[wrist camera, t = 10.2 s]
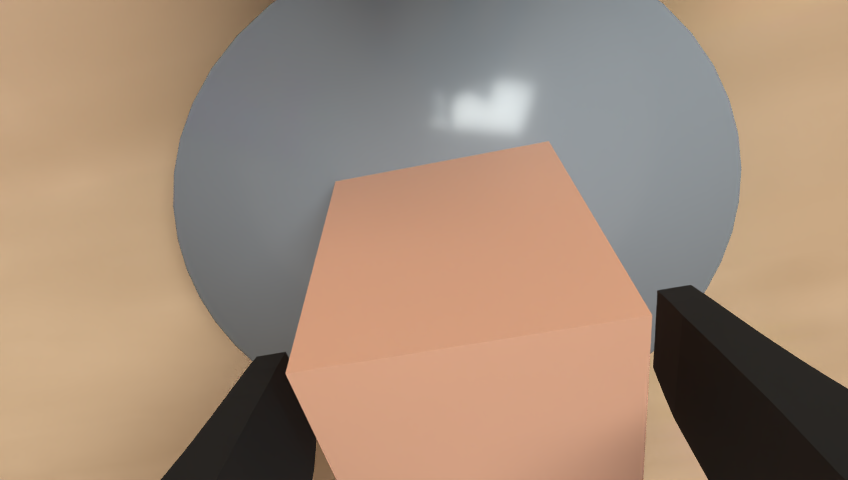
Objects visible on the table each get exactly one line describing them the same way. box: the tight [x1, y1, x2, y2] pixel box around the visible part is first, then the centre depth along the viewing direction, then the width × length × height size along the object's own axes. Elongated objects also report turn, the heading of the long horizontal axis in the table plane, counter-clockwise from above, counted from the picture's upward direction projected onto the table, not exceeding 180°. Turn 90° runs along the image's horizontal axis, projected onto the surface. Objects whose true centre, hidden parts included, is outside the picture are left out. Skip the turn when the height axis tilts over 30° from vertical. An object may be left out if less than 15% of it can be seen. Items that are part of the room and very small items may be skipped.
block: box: [285, 141, 652, 480], centre depth 11 cm, size 5×5×6 cm
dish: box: [173, 0, 741, 361], centre depth 14 cm, size 14×14×1 cm
